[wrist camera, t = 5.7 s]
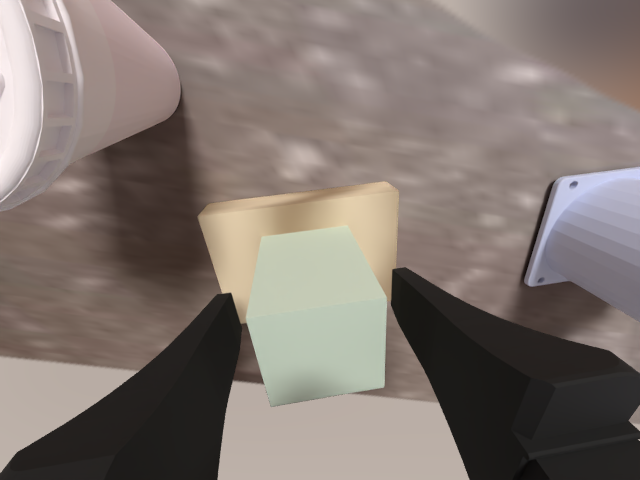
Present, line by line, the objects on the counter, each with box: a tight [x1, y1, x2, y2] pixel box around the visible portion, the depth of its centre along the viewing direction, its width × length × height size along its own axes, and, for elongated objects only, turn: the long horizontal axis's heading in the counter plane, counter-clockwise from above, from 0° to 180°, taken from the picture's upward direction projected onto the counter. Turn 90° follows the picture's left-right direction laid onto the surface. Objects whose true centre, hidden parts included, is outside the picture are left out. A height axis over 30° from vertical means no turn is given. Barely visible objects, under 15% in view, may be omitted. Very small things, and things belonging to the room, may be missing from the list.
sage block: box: [246, 225, 387, 407], centre depth 12 cm, size 4×4×6 cm
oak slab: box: [198, 181, 399, 324], centre depth 15 cm, size 10×7×2 cm
